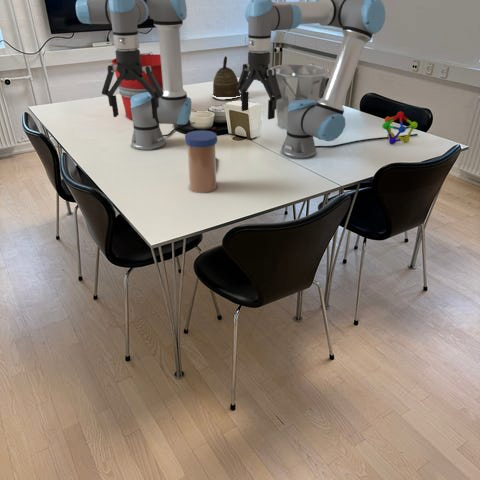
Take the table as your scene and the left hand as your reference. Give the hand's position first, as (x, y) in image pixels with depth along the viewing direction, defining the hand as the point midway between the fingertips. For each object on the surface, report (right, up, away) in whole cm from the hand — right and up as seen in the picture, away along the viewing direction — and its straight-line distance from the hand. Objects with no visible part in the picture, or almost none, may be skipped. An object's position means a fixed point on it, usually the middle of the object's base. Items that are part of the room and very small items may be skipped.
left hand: (135, 116), depth 150 cm
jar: (+21, -22, +18) cm, 36 cm away
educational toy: (+110, +4, +61) cm, 125 cm away
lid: (+22, -5, +8) cm, 23 cm away
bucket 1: (-16, +29, +99) cm, 104 cm away
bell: (+27, +49, +132) cm, 143 cm away
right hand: (+42, +4, +10) cm, 43 cm away
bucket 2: (+65, +19, +84) cm, 107 cm away
